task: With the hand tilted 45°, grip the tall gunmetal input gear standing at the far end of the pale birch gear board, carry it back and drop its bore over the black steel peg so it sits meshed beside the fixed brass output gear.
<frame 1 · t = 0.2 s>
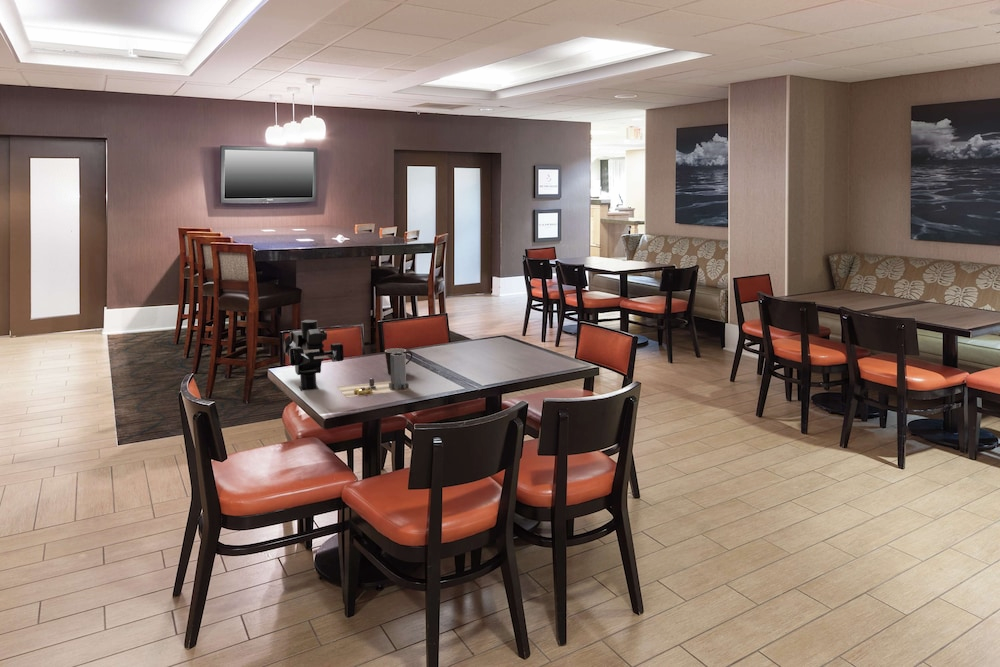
hand: (322, 359, 257), 17 cm above the table, tool horizontal, fingers open, 9 cm apart
steel peg: (371, 387, 282), resting on gear board
brass output gear: (363, 392, 275), resting on gear board
gear board: (374, 389, 281), on the table
input gear: (398, 387, 282), point 1 cm above the table, touching gear board
coffee mug: (399, 374, 305), on the table
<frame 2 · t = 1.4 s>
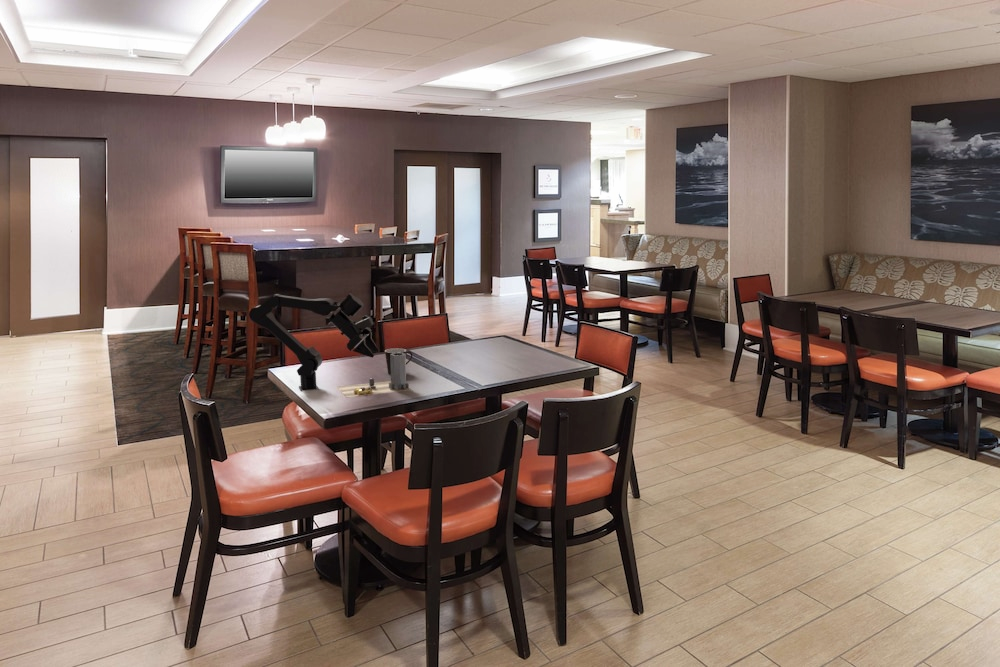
hand: (375, 354, 279), 14 cm above the table, tool tilted 45°, fingers open, 9 cm apart
nothing on the table moved.
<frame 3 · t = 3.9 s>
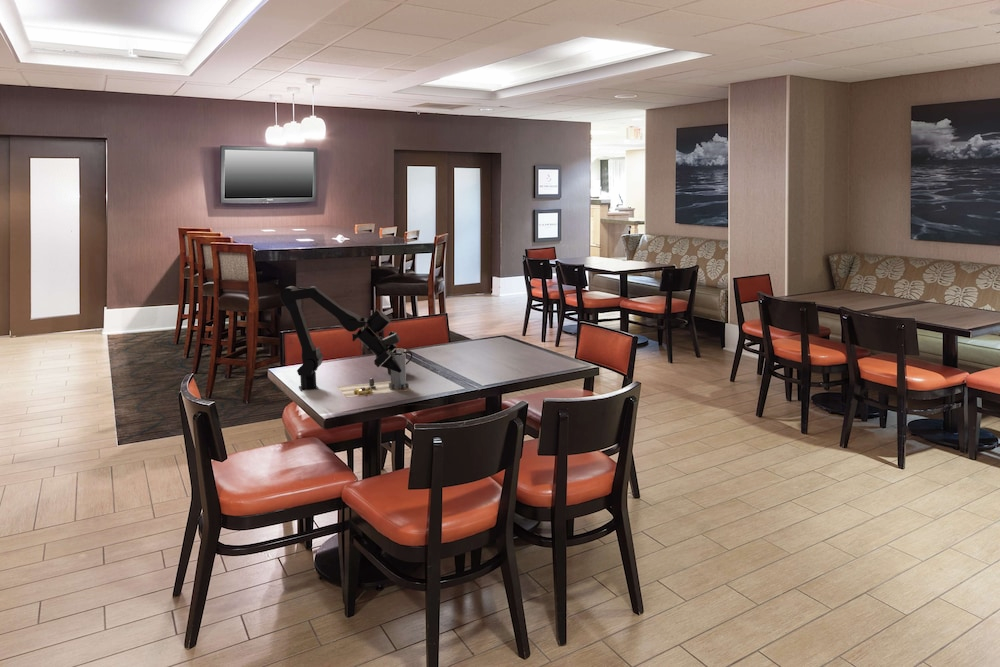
hand: (402, 369, 281), 8 cm above the table, tool tilted 45°, fingers closed on input gear, 5 cm apart
input gear: (398, 387, 282), point 1 cm above the table, touching gear board, gripper
everything else where it was.
when the fingers open (9 cm above the table, at t = 7.4 s): input gear drops 2 cm, resting on gear board.
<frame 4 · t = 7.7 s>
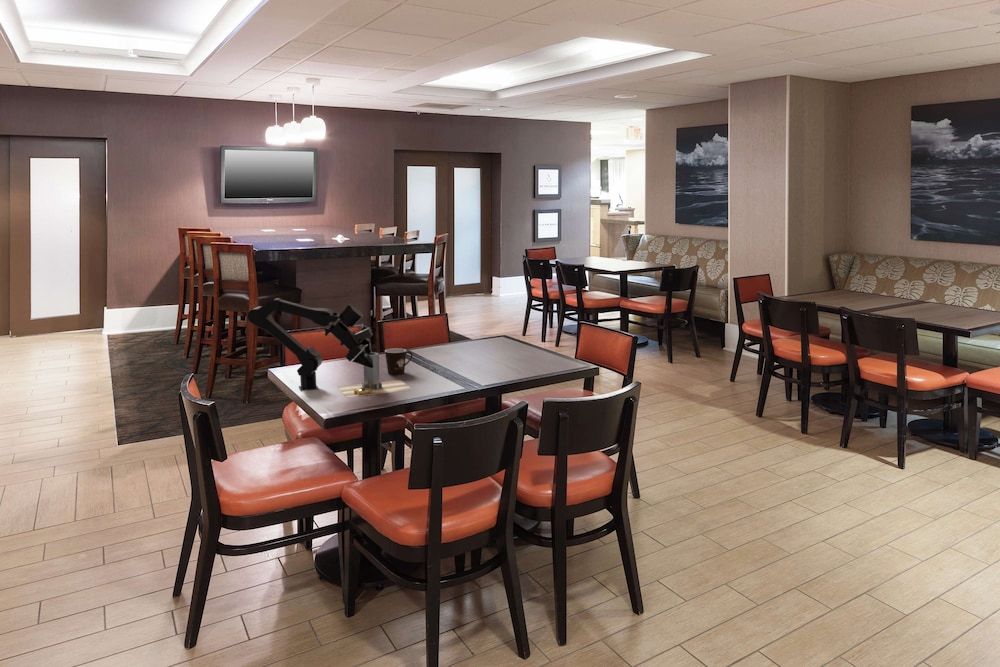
hand: (374, 364, 281), 10 cm above the table, tool tilted 45°, fingers open, 8 cm apart
input gear: (372, 387, 282), point 1 cm above the table, touching gear board
everything else where it was.
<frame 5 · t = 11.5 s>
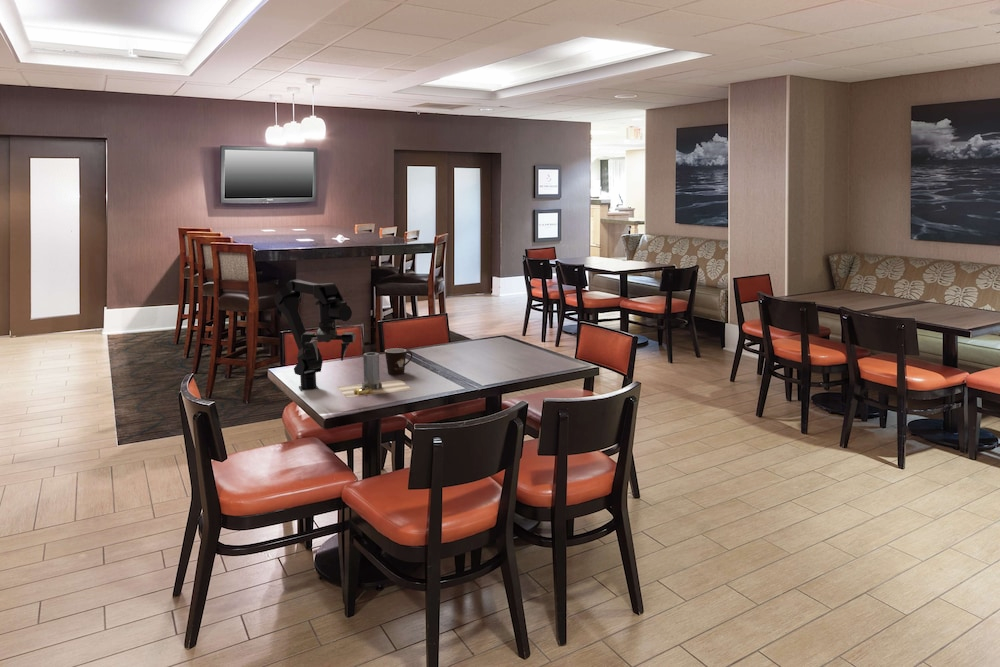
hand: (329, 360, 272), 13 cm above the table, tool pointing down, fingers open, 9 cm apart
nothing on the table moved.
at the end: input gear 0.1 cm off-centre on the steel peg, point 0.0 cm above the steel peg's base; input gear tilted 0°; the gripper is holding nothing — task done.
